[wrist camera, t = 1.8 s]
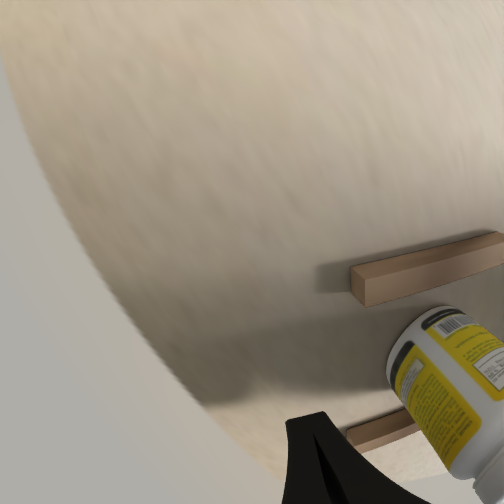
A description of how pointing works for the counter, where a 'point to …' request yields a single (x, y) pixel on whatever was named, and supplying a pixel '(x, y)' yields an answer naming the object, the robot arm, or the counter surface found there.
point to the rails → (407, 283)
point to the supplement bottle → (455, 394)
